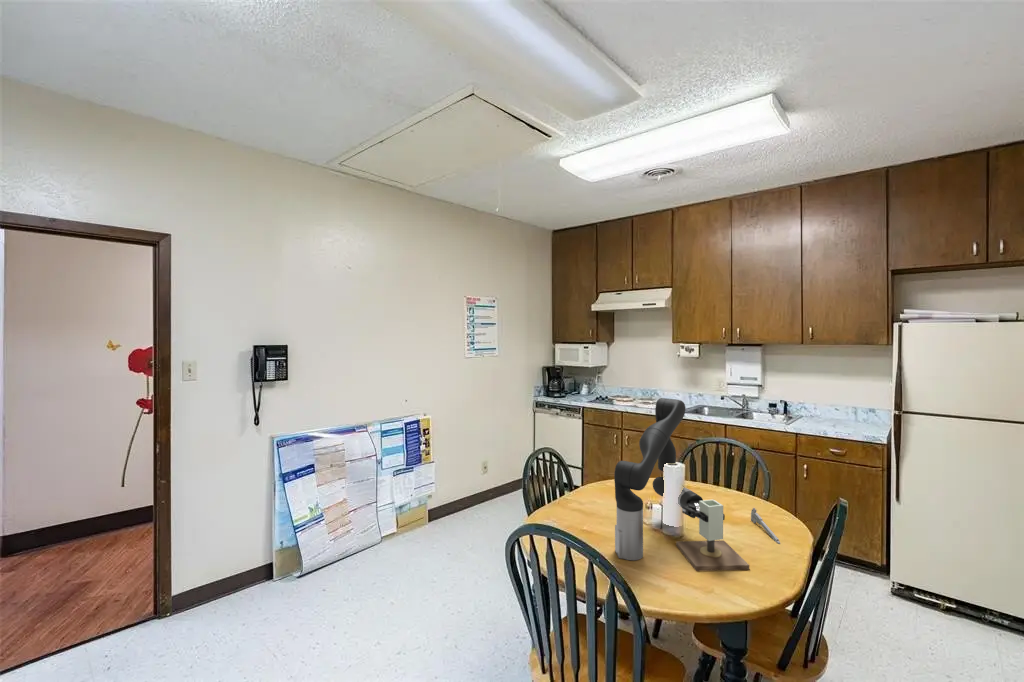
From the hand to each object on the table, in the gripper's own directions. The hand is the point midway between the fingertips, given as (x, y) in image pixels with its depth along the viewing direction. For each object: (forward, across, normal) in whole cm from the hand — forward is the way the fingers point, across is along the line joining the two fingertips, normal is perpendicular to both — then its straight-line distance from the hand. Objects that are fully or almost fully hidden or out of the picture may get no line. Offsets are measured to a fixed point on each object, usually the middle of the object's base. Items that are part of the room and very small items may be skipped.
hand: (715, 518), depth 164 cm
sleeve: (-3, 0, +8) cm, 8 cm away
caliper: (-16, +33, +16) cm, 39 cm away
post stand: (-2, 0, +15) cm, 15 cm away
